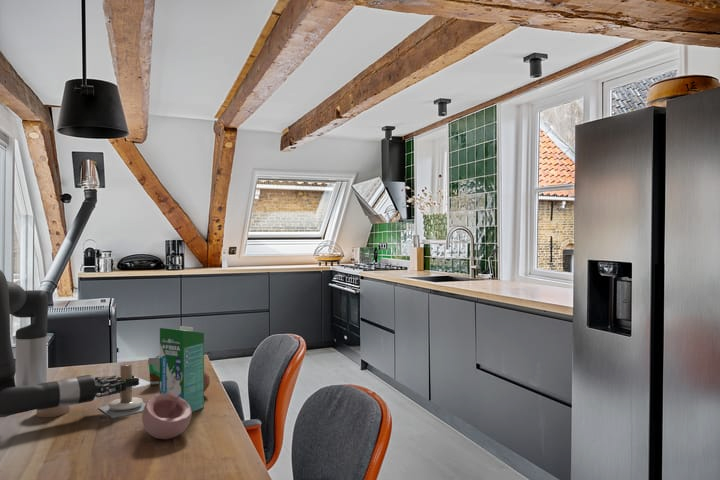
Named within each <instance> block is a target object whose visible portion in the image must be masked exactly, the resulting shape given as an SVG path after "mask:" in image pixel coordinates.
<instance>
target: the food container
mask: <svg viewBox="0 0 720 480" xmlns="http://www.w3.org/2000/svg"><path fill="white" fill-rule="evenodd" d="M147 365H148V373H149V382H150V385H149V386H150V387H160V355H157V356H156V357H148V359H147Z"/></svg>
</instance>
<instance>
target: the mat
mask: <svg viewBox="0 0 720 480" xmlns="http://www.w3.org/2000/svg"><path fill="white" fill-rule="evenodd" d="M146 403H147V402H144V401H143V404H142V405H141V406H139V407H136V408H132V409H126V410H114V409H111V408H109V405H104V406H101V407H98V409H99V410H100V411H101V412H103V413H105V414H106V415H107V416H108V417H110V418H111V419H117V418H119V417H125V416H129V415H133V414H138V413H143V409H144V407H145V405H146Z"/></svg>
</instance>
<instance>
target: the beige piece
mask: <svg viewBox="0 0 720 480" xmlns="http://www.w3.org/2000/svg"><path fill="white" fill-rule="evenodd" d="M119 366H120V370H119V371H120V380H123V379H131V378H132V375H133V364H131V363H124V364H123V363H122V364H120V365H119ZM121 386H122V385H120V387H121ZM119 396H120V398H117V399H114V400H111V401H110V402H109V403H108V404H109V405H108V406H109V408H111V409H114V410H126V409H132V408H136V407H139V406H141V405H142V404H143V402H144V401H143V398H141V397H135V396H133V389H132V386H131V387H126V390H124V391H121V392H119Z"/></svg>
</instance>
